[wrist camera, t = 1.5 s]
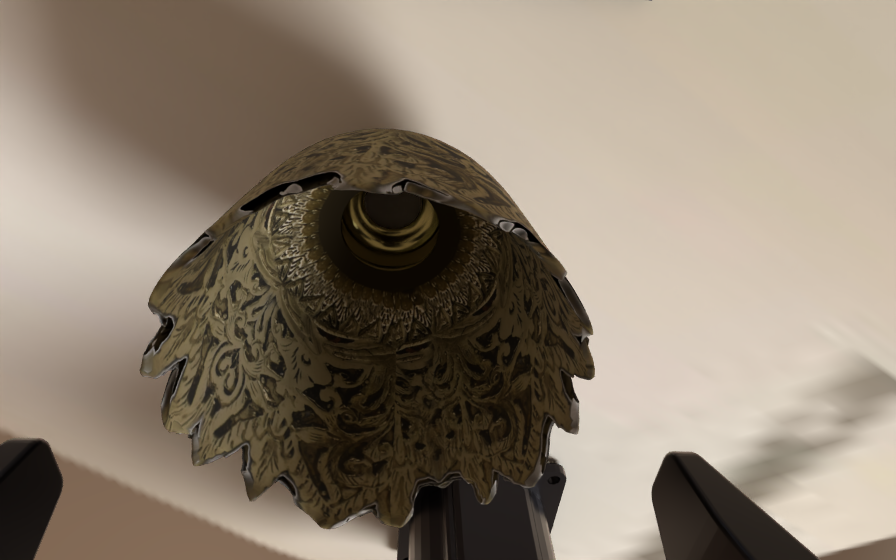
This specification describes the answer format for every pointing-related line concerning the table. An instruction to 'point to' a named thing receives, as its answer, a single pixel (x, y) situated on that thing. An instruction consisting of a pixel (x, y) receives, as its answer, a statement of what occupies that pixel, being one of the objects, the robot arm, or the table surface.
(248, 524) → the table surface
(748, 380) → the table surface
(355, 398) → the cup
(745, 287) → the table surface
